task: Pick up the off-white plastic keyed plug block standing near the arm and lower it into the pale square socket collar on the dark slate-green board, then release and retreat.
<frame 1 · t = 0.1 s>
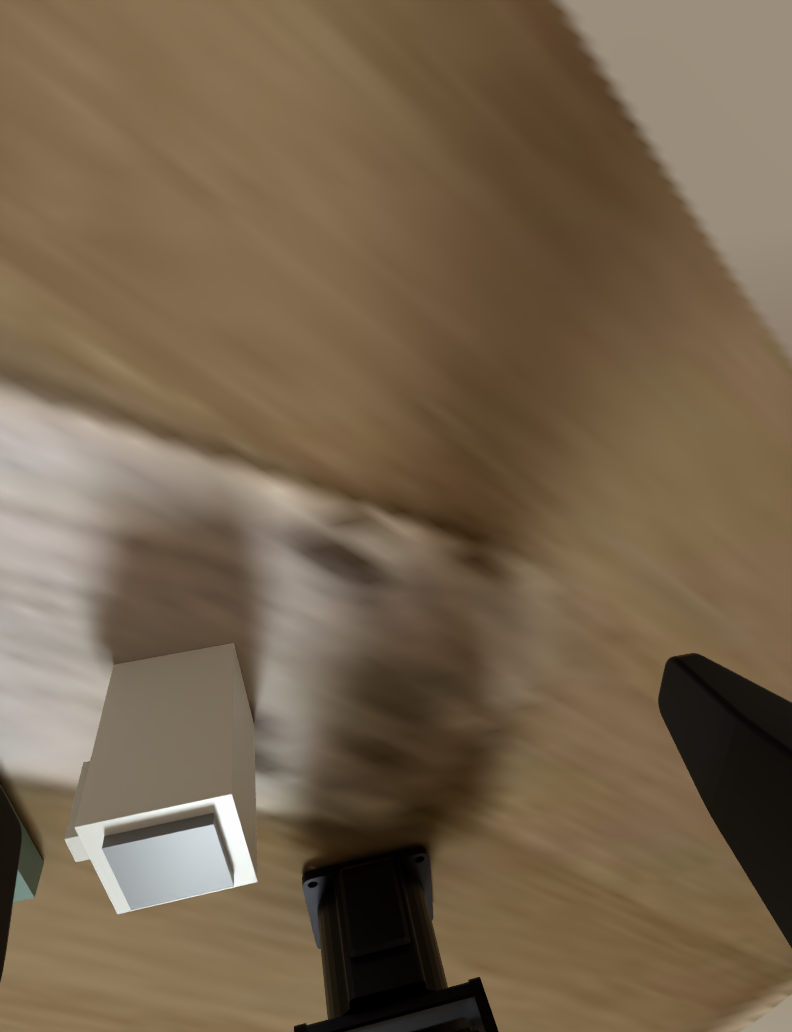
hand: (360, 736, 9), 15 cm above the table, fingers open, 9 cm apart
plug: (187, 695, 27), on the table
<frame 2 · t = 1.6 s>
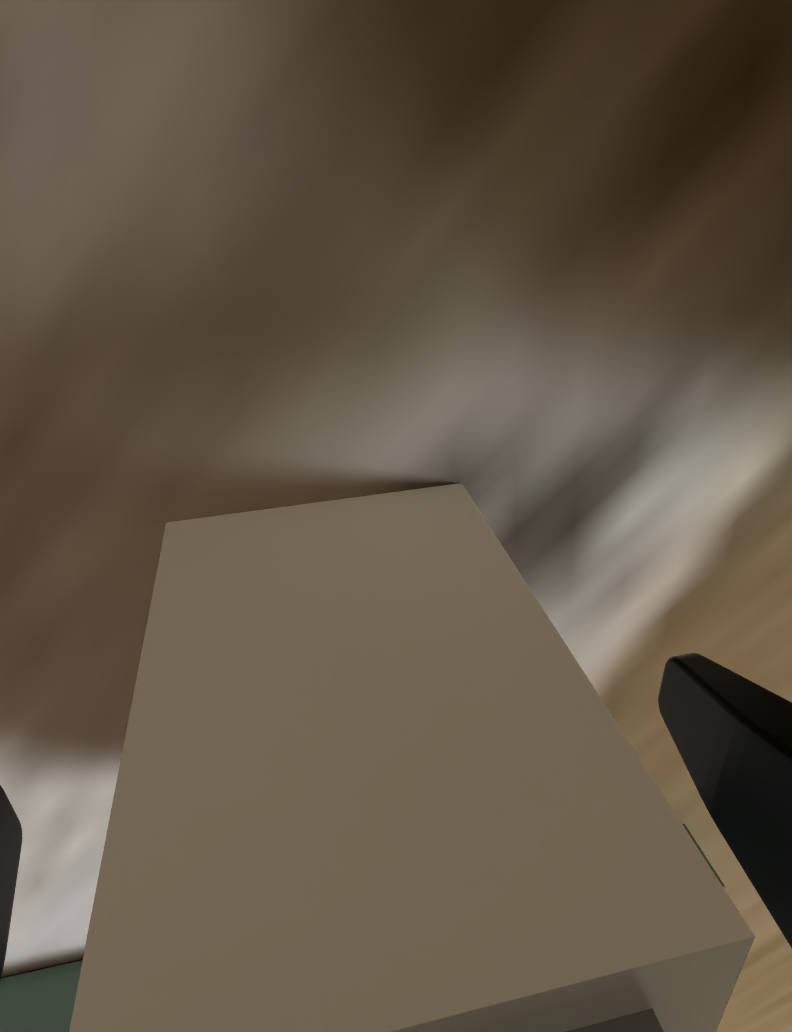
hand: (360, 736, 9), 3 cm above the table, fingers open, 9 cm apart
plug: (332, 618, 11), on the table
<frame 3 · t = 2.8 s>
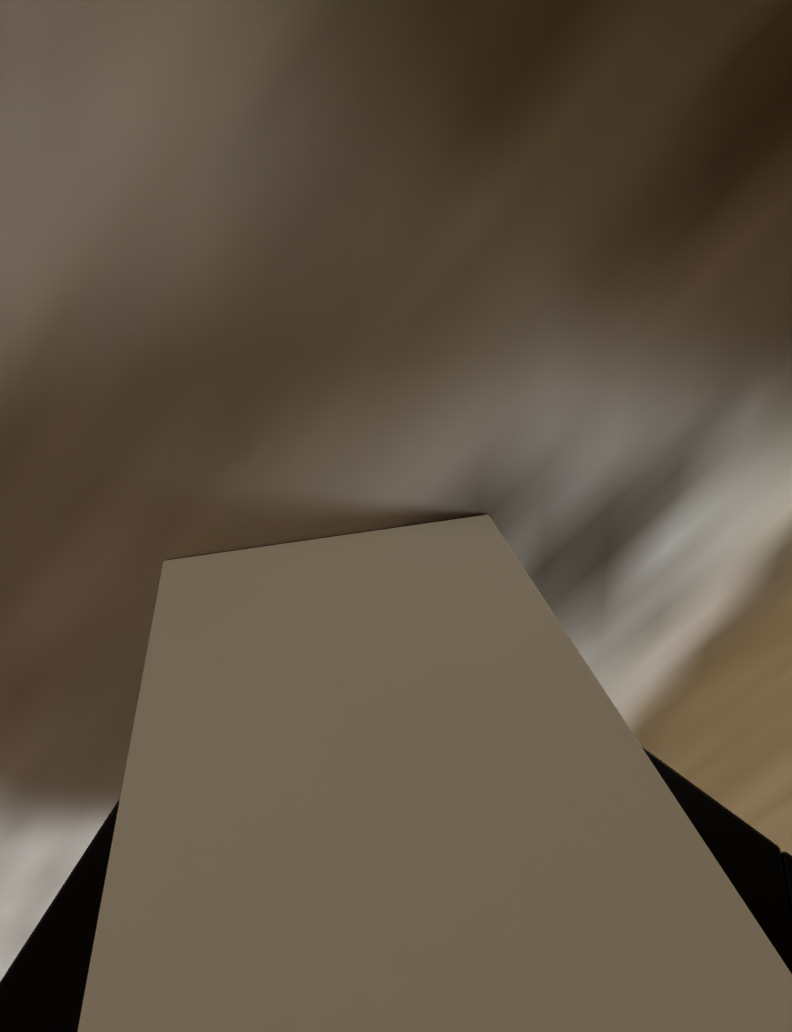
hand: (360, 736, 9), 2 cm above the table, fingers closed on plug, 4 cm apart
plug: (345, 660, 10), on the table, touching gripper
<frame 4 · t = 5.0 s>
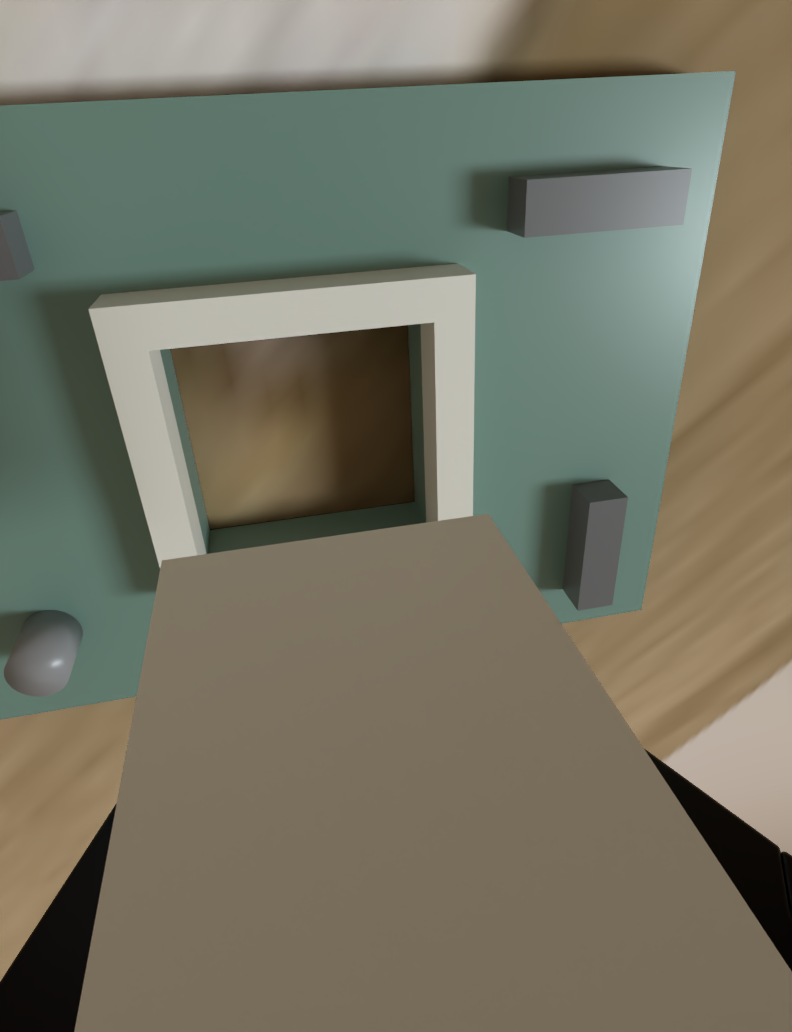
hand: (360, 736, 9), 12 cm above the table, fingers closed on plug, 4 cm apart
board: (302, 419, 19), on the table
plug: (344, 660, 10), point 11 cm above the table, touching gripper
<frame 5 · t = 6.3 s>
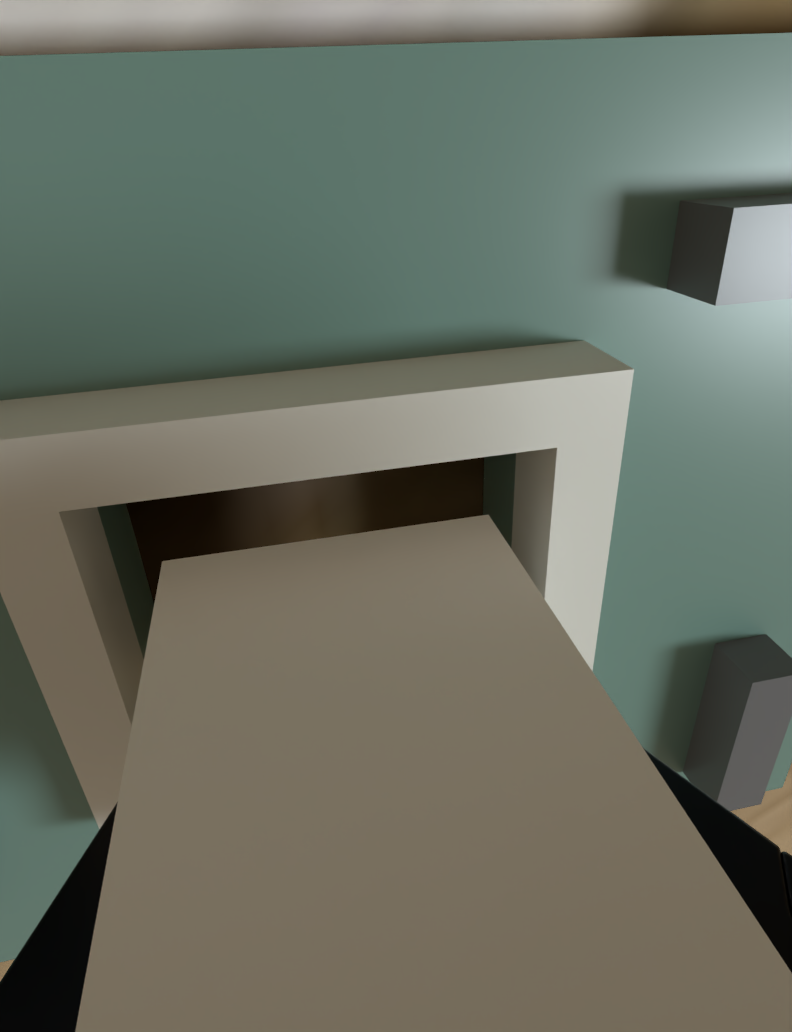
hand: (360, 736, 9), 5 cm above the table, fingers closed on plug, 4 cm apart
board: (321, 558, 13), on the table
plug: (344, 660, 10), point 3 cm above the table, touching gripper
when the fingers open (3 cm above the table, at t = 7.4 s): plug drops 2 cm, resting in board.
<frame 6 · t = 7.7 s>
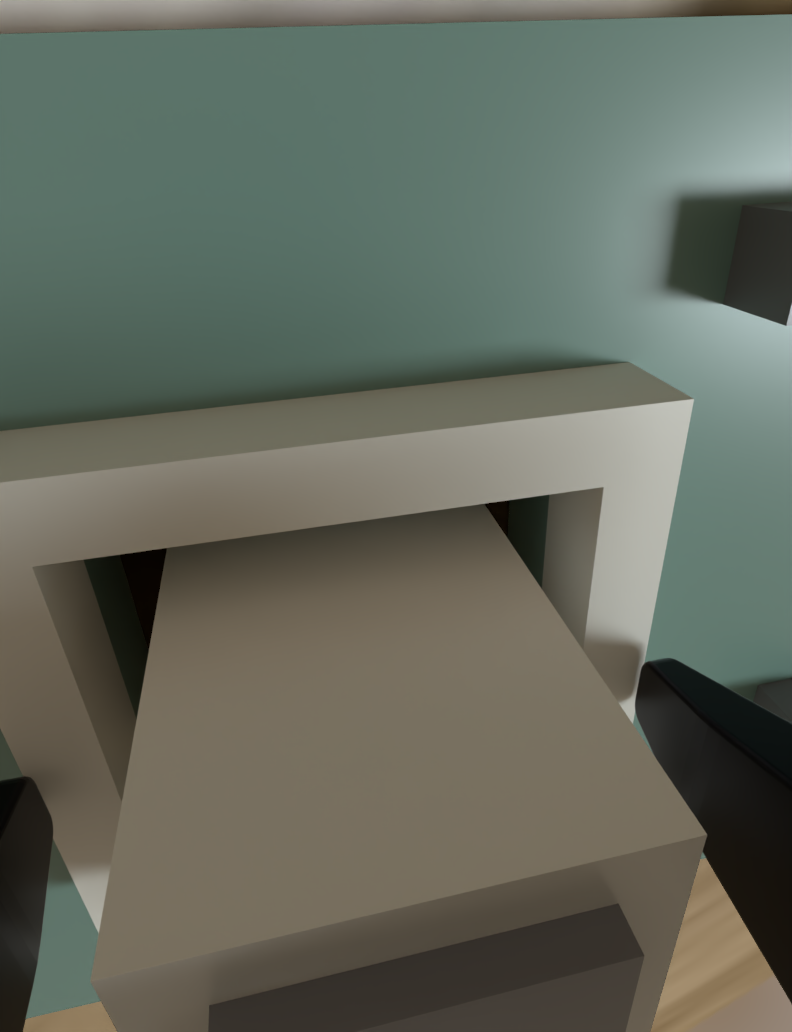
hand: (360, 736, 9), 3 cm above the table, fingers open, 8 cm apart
board: (331, 595, 12), on the table
plug: (333, 590, 12), resting in board
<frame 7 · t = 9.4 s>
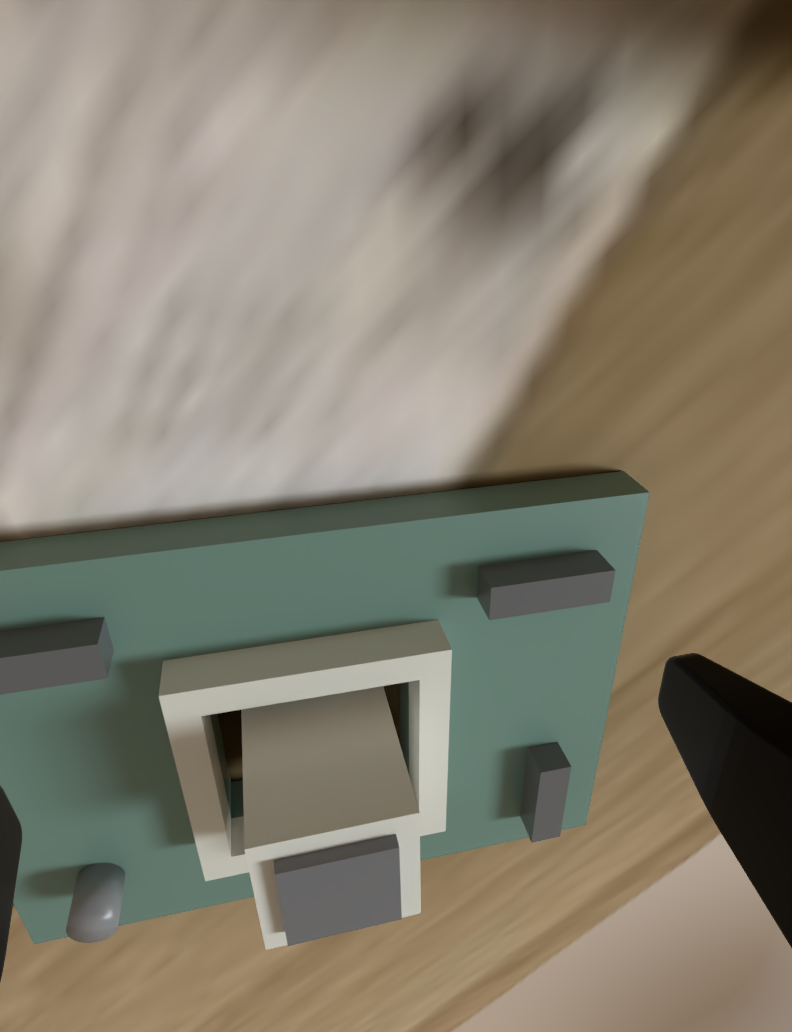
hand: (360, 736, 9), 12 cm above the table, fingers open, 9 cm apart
board: (310, 703, 24), on the table
plug: (312, 701, 24), resting in board
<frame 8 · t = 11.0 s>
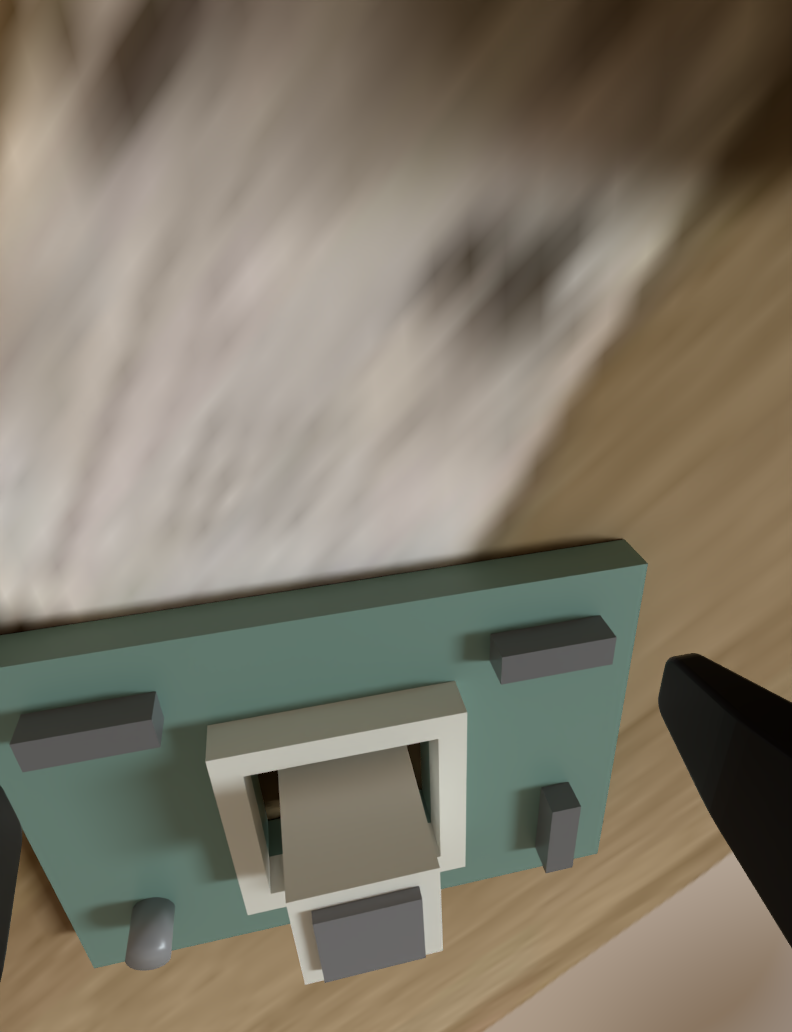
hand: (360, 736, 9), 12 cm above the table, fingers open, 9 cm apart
board: (339, 751, 26), on the table
plug: (340, 749, 26), resting in board
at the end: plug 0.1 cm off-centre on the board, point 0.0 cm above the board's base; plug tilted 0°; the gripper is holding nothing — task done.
